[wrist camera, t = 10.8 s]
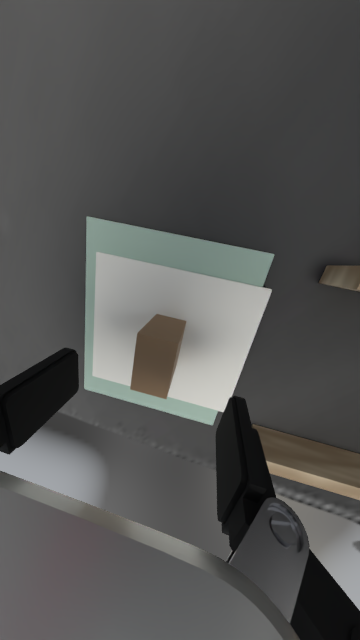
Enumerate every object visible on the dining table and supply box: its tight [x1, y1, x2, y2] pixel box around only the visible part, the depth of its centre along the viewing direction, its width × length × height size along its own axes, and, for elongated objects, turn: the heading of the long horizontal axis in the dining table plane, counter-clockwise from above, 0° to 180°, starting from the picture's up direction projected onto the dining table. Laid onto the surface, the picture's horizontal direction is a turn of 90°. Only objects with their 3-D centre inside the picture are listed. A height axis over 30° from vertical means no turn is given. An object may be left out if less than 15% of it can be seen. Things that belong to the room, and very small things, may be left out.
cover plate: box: [92, 252, 272, 412], centre depth 15 cm, size 14×16×6 cm
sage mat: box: [84, 216, 274, 425], centre depth 18 cm, size 20×17×1 cm
